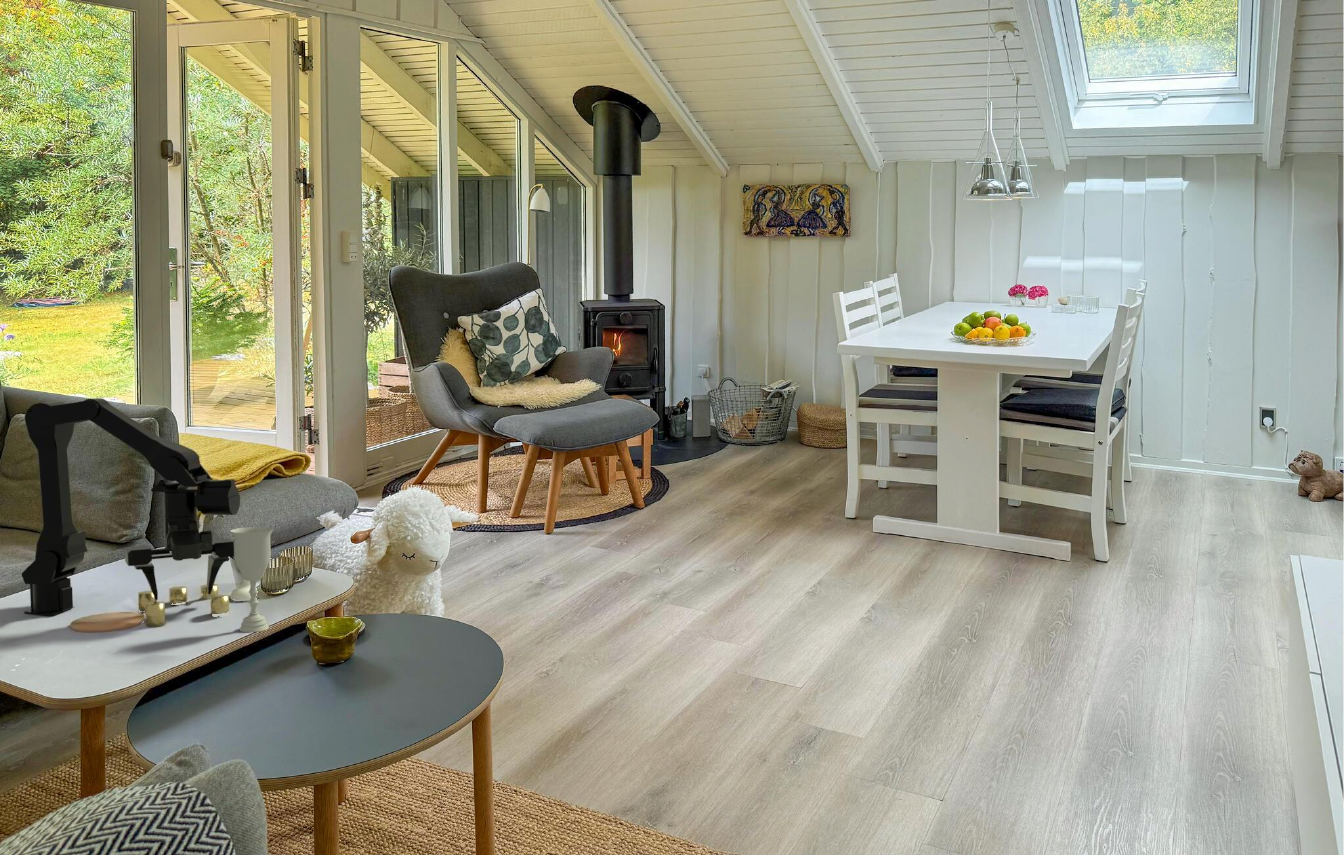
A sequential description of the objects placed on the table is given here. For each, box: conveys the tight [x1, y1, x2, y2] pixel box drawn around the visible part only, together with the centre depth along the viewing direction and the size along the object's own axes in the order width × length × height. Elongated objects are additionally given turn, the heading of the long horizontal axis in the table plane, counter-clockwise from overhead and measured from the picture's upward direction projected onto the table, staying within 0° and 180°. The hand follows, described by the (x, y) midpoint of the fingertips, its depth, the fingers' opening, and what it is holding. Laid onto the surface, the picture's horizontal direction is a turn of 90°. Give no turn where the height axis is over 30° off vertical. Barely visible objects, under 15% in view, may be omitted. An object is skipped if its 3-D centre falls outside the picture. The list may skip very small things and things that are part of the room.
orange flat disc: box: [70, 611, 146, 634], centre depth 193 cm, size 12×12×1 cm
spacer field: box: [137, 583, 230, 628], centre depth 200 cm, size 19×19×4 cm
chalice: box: [230, 526, 274, 633], centre depth 190 cm, size 7×7×18 cm
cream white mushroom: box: [229, 578, 257, 600], centre depth 208 cm, size 6×6×8 cm
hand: (182, 596), depth 200 cm, fingers open, 9 cm apart
